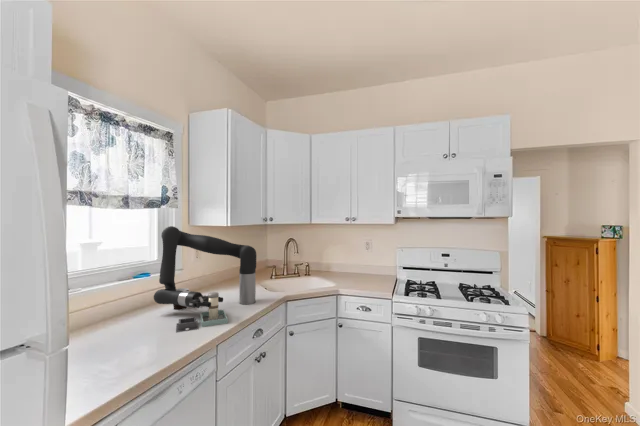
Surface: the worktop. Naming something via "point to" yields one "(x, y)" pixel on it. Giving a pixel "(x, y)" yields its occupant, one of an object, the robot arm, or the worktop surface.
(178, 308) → the coffee mug
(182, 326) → the fuse holder
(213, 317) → the cylinder
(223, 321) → the parts tray
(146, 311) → the worktop surface
